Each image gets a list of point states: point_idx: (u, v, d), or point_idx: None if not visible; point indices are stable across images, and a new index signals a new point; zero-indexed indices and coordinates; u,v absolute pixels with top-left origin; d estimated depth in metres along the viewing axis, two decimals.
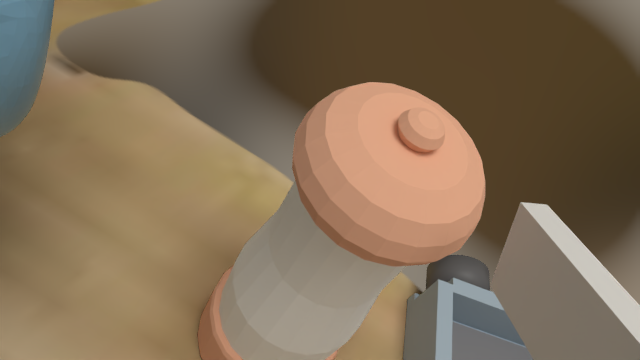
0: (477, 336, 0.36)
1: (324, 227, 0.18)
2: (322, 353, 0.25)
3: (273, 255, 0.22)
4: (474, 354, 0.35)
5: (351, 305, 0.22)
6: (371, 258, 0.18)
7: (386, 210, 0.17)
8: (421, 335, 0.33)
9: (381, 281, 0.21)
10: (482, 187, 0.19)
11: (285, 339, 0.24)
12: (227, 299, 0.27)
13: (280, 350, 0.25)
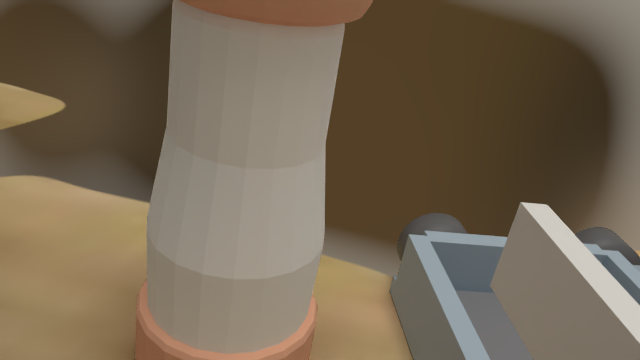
0: (482, 297, 0.30)
1: None
2: (284, 276, 0.19)
3: (175, 137, 0.18)
4: (487, 313, 0.29)
5: (287, 160, 0.18)
6: None
7: None
8: (415, 298, 0.27)
9: (306, 95, 0.17)
10: None
11: (227, 257, 0.18)
12: (149, 270, 0.20)
13: (228, 284, 0.19)
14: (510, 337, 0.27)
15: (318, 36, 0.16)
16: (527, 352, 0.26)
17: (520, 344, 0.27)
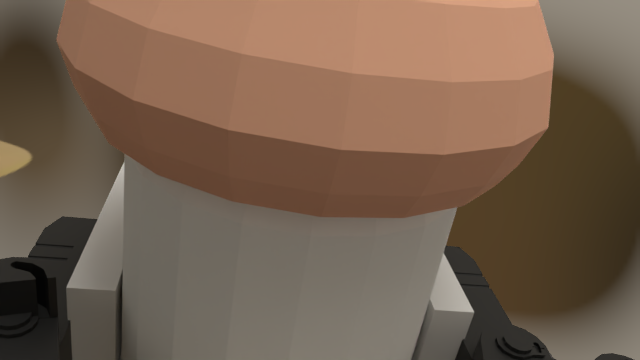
0: None
1: (171, 148, 0.06)
2: None
3: None
4: None
5: None
6: (335, 182, 0.06)
7: None
8: None
9: (395, 325, 0.08)
10: None
11: None
12: None
13: None
14: None
15: (428, 218, 0.08)
16: None
17: None
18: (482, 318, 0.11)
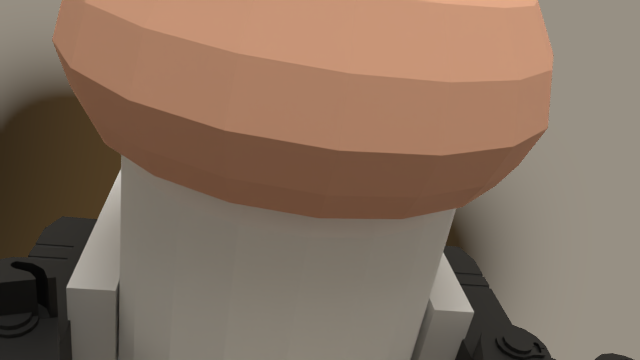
0: None
1: (167, 149, 0.06)
2: None
3: None
4: None
5: None
6: (333, 183, 0.06)
7: None
8: None
9: (394, 327, 0.08)
10: None
11: None
12: None
13: None
14: None
15: (427, 219, 0.08)
16: None
17: None
18: (482, 318, 0.11)
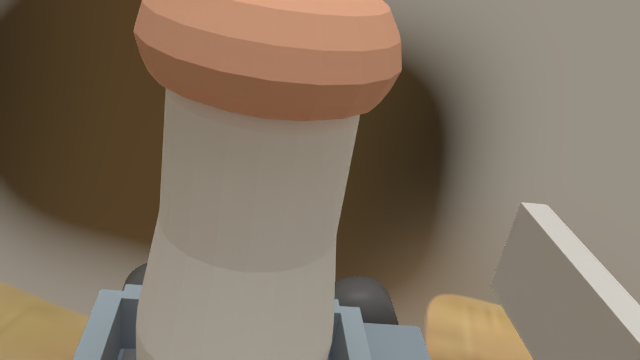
0: None
1: (193, 82, 0.13)
2: None
3: (167, 232, 0.16)
4: None
5: (293, 261, 0.16)
6: (270, 97, 0.12)
7: (260, 5, 0.12)
8: None
9: (315, 193, 0.15)
10: (387, 6, 0.15)
11: None
12: None
13: None
14: None
15: (330, 129, 0.14)
16: None
17: None
18: None
